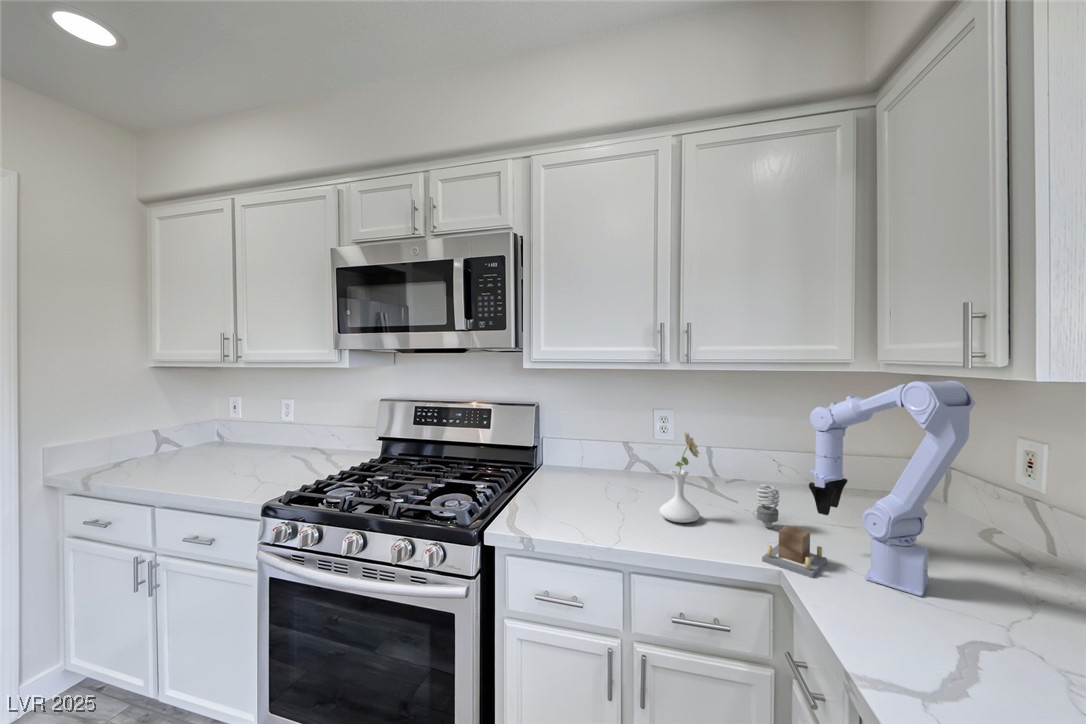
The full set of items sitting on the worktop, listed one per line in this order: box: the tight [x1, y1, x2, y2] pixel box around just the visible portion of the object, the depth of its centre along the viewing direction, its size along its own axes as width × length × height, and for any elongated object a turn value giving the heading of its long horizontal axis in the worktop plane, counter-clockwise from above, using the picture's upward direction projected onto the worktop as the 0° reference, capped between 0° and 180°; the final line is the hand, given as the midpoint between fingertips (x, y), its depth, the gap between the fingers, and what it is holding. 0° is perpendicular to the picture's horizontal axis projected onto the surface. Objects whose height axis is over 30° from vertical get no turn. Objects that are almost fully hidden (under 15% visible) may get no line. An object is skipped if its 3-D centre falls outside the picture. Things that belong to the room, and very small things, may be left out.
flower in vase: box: [658, 431, 701, 524], centre depth 130 cm, size 13×11×25 cm
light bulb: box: [755, 484, 780, 529], centre depth 123 cm, size 6×6×12 cm
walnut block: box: [778, 525, 811, 564], centre depth 103 cm, size 5×5×6 cm
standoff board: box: [761, 543, 828, 579], centre depth 103 cm, size 10×10×4 cm
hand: (827, 510), depth 110 cm, fingers open, 7 cm apart
